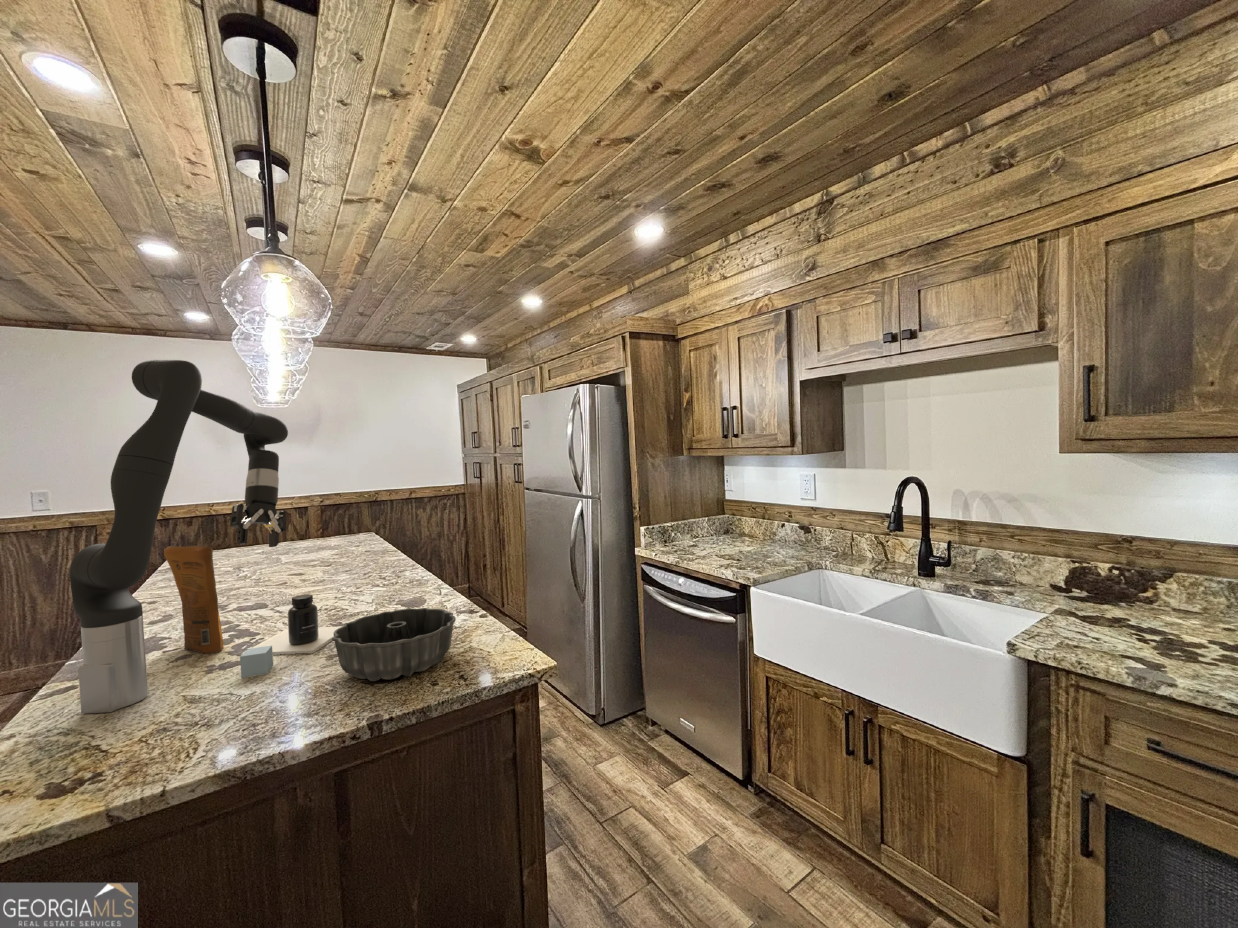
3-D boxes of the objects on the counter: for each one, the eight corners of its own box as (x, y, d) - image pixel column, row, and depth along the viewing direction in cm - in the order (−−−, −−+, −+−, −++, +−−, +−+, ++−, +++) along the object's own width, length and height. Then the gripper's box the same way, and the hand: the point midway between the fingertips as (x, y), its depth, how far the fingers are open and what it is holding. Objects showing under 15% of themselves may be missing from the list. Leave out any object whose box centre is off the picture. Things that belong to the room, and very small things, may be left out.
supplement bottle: (309, 645, 134) (306, 599, 134) (283, 646, 134) (280, 600, 134) (324, 635, 141) (322, 592, 140) (299, 636, 141) (297, 593, 141)
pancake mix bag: (204, 658, 130) (197, 548, 129) (167, 648, 139) (160, 545, 138) (234, 649, 136) (227, 543, 135) (197, 639, 145) (190, 540, 144)
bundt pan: (411, 638, 139) (409, 601, 138) (480, 654, 125) (478, 614, 125) (310, 676, 116) (307, 633, 116) (381, 702, 102) (379, 653, 102)
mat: (312, 653, 130) (312, 650, 130) (241, 656, 130) (241, 653, 130) (349, 628, 148) (349, 625, 148) (287, 631, 148) (286, 628, 148)
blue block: (267, 674, 119) (265, 652, 119) (241, 678, 117) (240, 656, 117) (273, 665, 124) (272, 645, 123) (248, 669, 122) (247, 648, 122)
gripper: (247, 479, 136) (242, 540, 131) (295, 489, 149) (292, 545, 144) (226, 485, 138) (220, 545, 133) (275, 494, 151) (272, 549, 146)
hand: (258, 545), depth 139 cm, fingers open, 8 cm apart
